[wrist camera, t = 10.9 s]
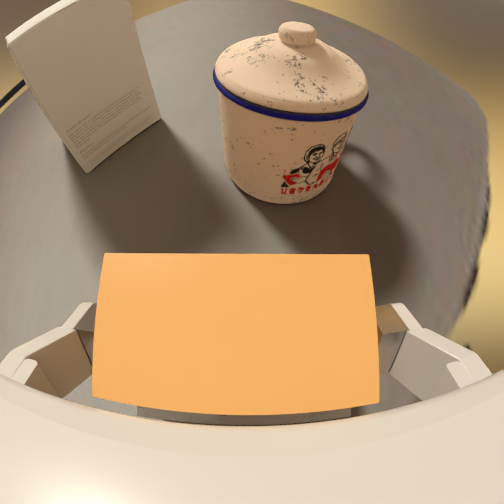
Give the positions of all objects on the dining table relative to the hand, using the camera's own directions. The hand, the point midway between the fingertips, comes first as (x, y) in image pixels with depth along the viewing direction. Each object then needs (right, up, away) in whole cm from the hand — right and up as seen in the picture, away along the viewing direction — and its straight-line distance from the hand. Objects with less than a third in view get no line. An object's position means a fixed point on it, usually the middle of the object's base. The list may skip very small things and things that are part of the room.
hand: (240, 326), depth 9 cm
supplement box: (-14, +15, +14) cm, 25 cm away
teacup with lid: (+4, +11, +13) cm, 17 cm away
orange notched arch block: (0, -3, +7) cm, 8 cm away
